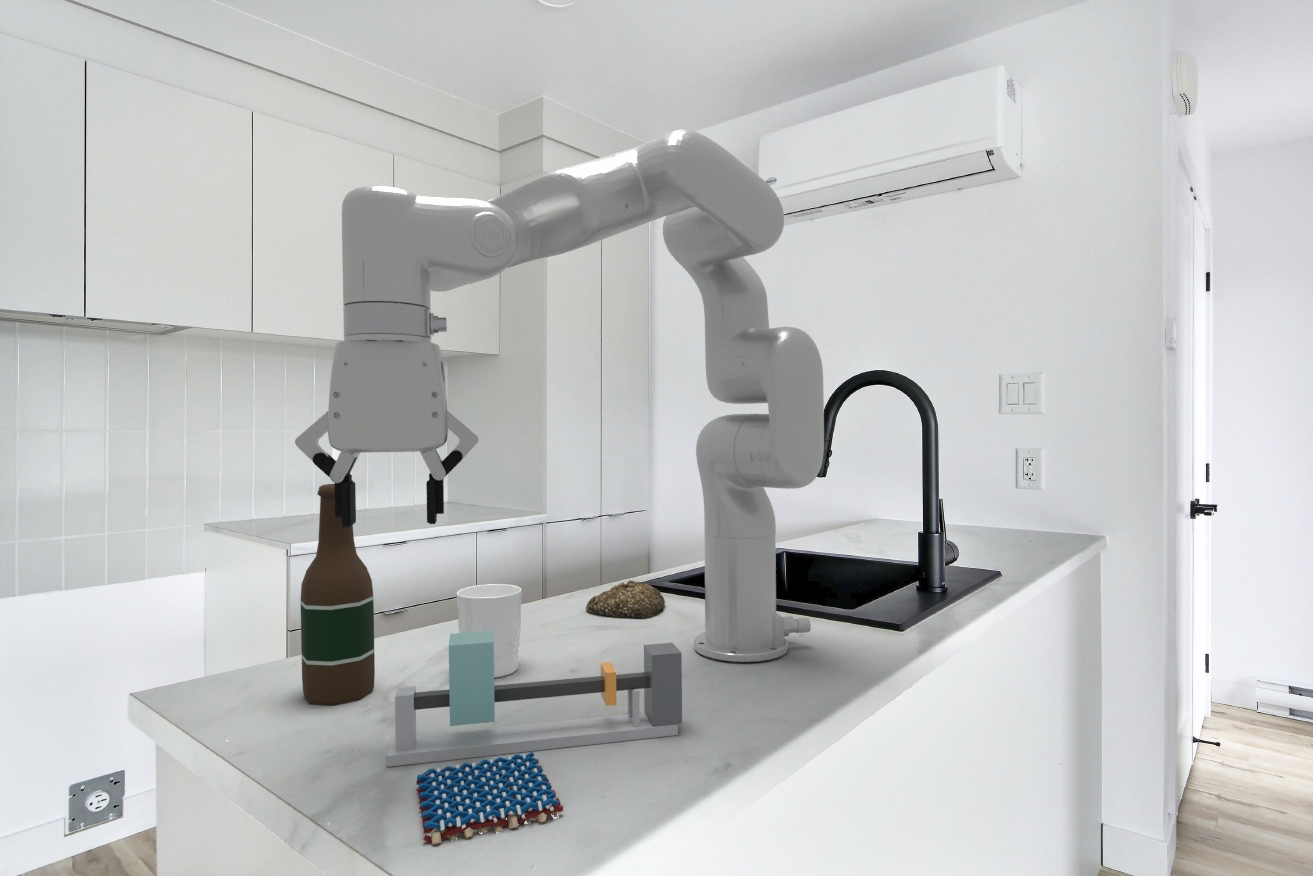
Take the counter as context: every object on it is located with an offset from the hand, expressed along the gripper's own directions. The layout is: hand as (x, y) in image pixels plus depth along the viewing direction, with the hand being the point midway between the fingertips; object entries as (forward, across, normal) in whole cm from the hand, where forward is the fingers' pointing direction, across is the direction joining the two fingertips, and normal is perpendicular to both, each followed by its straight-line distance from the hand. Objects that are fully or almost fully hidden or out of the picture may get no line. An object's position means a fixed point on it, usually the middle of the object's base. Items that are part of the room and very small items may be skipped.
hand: (391, 522), depth 69 cm
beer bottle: (+22, +8, -19) cm, 30 cm away
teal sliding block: (+19, -7, 0) cm, 20 cm away
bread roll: (+22, -32, -49) cm, 63 cm away
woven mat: (+22, -8, +11) cm, 26 cm away
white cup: (+22, -9, -23) cm, 33 cm away
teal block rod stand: (+22, -13, 0) cm, 25 cm away
